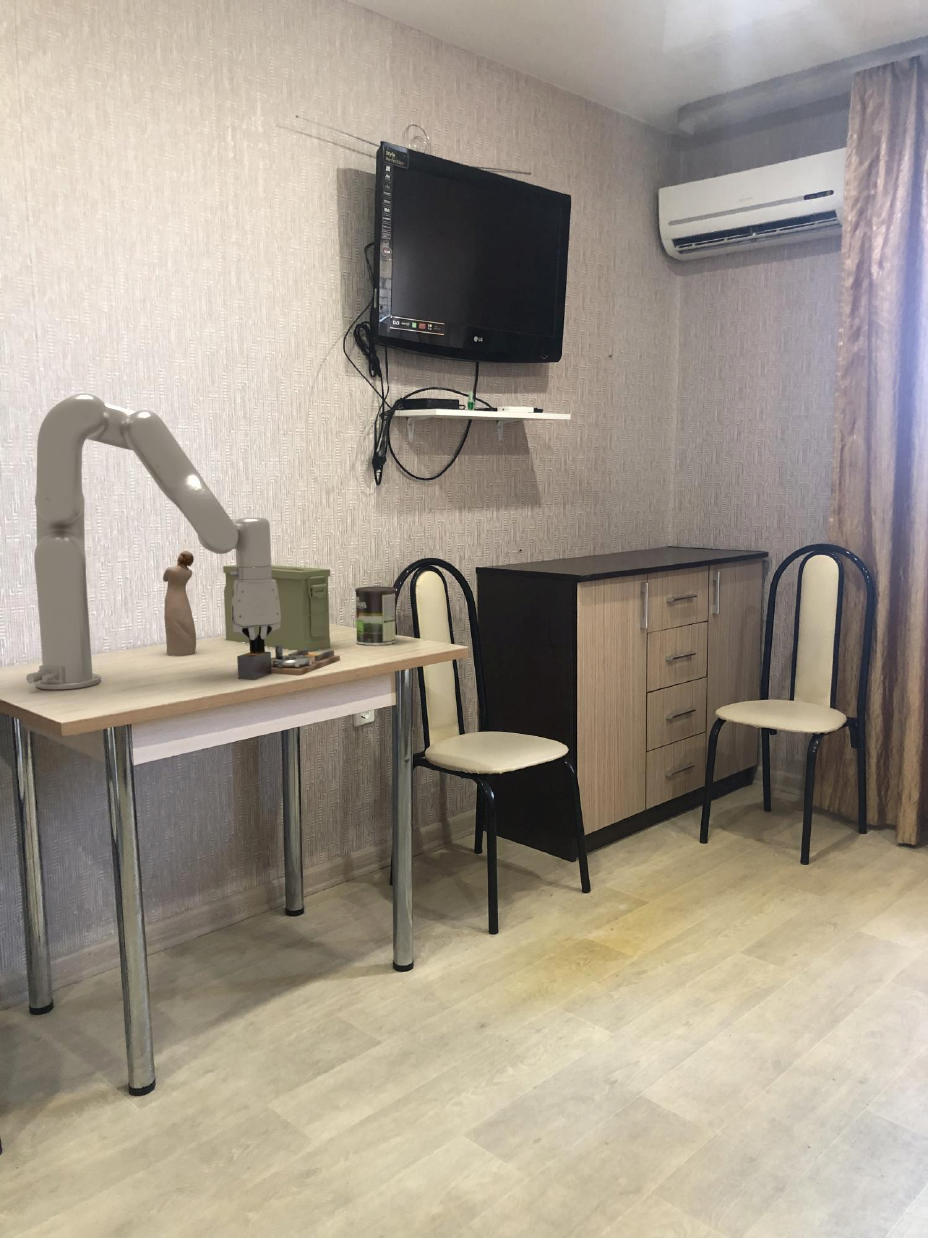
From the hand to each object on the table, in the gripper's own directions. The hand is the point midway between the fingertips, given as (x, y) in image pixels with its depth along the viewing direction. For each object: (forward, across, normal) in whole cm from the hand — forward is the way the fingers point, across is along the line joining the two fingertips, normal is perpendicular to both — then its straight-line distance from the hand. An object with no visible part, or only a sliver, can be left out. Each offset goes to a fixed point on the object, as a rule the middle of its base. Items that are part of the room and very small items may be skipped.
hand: (257, 656), depth 220 cm
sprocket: (+2, +7, -2) cm, 8 cm away
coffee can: (+3, +36, +23) cm, 43 cm away
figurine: (+3, -12, +31) cm, 33 cm away
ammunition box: (+3, +13, +33) cm, 36 cm away
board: (+3, +10, 0) cm, 10 cm away
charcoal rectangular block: (+3, -2, -7) cm, 8 cm away
